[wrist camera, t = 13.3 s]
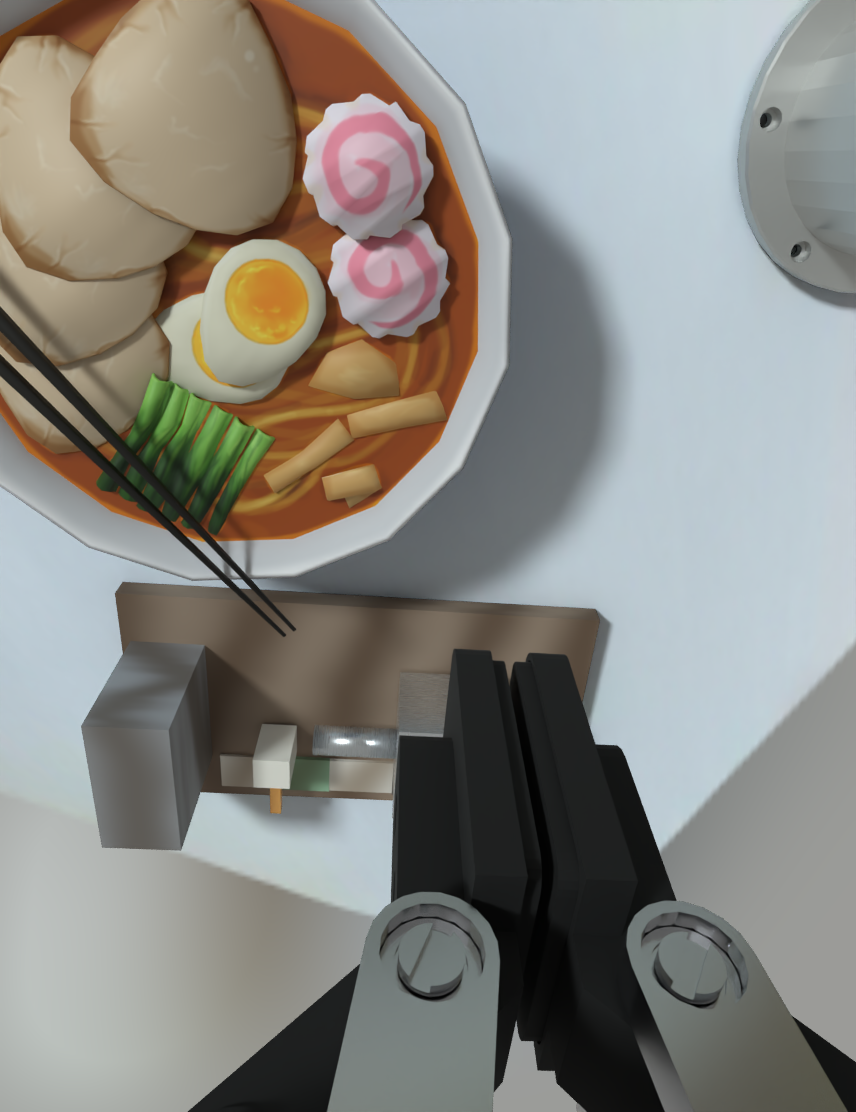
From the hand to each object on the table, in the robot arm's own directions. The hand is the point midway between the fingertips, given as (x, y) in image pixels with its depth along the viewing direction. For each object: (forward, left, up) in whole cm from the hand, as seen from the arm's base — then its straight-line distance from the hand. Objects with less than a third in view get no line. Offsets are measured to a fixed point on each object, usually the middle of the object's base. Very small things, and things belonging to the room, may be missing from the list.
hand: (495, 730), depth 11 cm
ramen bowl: (+9, -2, -27) cm, 29 cm away
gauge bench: (+3, +21, -27) cm, 34 cm away
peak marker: (+8, +25, -26) cm, 36 cm away
